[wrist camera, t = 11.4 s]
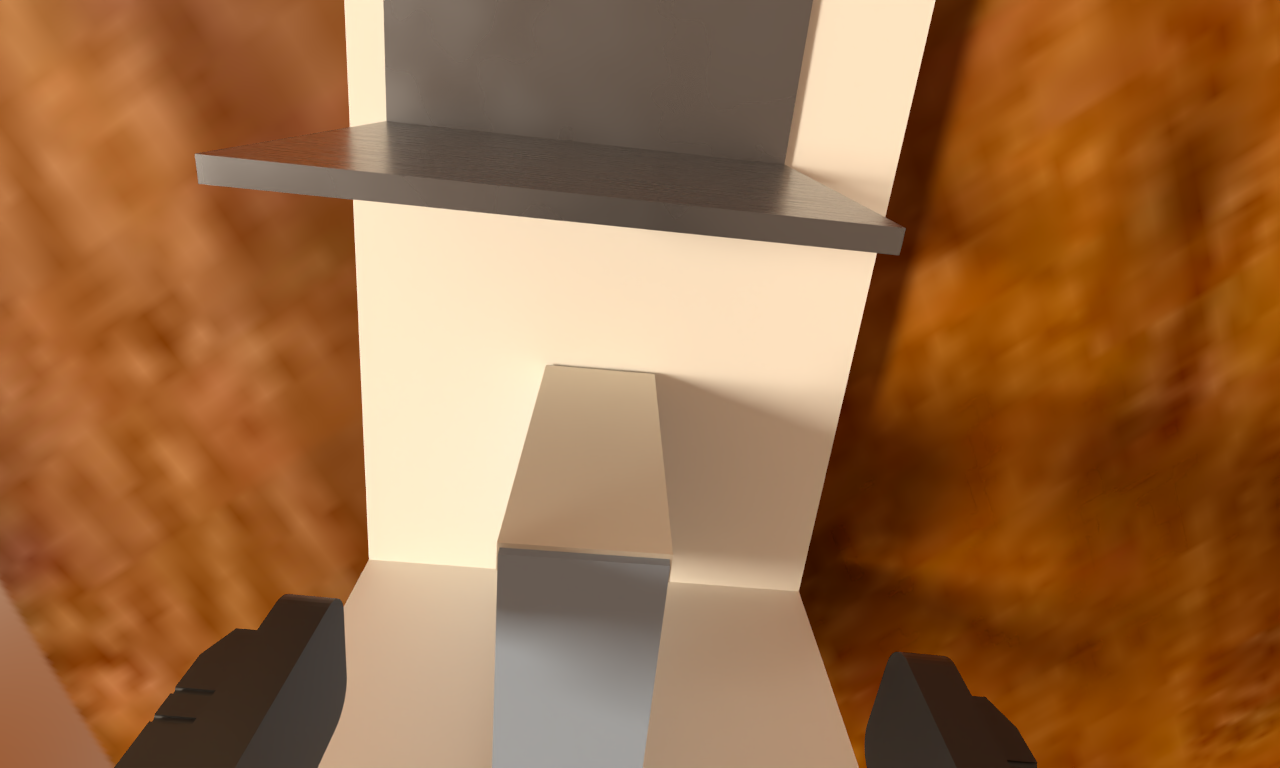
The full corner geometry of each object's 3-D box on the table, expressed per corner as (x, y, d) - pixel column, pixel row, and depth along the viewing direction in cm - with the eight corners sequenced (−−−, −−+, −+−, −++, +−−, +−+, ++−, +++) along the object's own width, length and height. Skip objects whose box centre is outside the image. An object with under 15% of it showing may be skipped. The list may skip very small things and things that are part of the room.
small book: (654, 371, 21) (673, 561, 13) (634, 547, 23) (640, 805, 15) (546, 362, 21) (494, 549, 13) (537, 540, 23) (488, 798, 15)
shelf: (915, -36, 19) (1943, -447, 4) (778, 589, 27) (972, 1226, 12) (367, -105, 18) (-756, -915, 3) (388, 560, 26) (71, 1206, 11)
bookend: (820, -60, 17) (1008, -193, 9) (779, 178, 19) (899, 255, 11) (384, -115, 16) (138, -315, 8) (390, 137, 18) (198, 183, 10)
